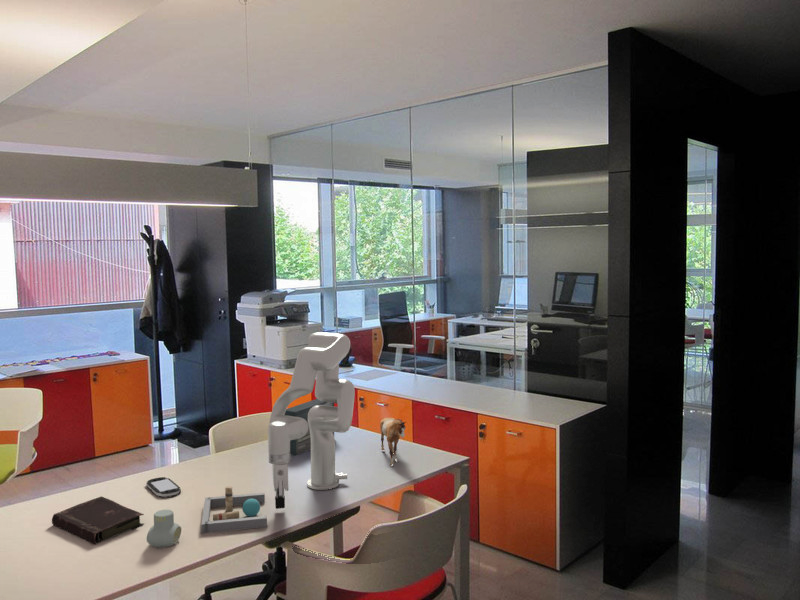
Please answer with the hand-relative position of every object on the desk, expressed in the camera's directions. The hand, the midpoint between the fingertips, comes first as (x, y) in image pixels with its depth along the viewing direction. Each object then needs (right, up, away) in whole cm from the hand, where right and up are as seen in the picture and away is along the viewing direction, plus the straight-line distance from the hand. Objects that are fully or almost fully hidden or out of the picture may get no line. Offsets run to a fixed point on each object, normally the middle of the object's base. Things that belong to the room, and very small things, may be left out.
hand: (280, 507), depth 228 cm
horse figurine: (+41, +3, +58) cm, 71 cm away
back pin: (-18, -1, 0) cm, 18 cm away
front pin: (-13, -1, -5) cm, 14 cm away
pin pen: (-15, -2, -3) cm, 15 cm away
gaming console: (-49, 0, +21) cm, 53 cm away
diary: (-59, -3, -11) cm, 60 cm away
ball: (-9, +1, -4) cm, 10 cm away
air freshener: (-32, -4, -24) cm, 40 cm away
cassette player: (0, +5, +75) cm, 75 cm away
